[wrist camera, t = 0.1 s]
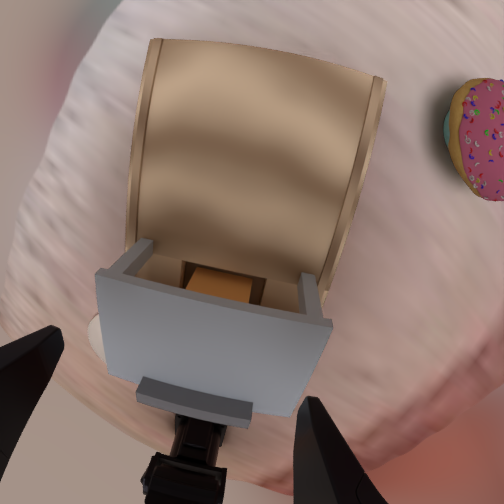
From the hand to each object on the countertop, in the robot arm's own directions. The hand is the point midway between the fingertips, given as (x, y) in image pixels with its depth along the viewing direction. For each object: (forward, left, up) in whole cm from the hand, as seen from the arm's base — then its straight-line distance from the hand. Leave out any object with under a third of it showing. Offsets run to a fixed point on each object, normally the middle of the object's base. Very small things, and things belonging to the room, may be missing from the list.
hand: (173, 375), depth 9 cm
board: (-1, 0, -15) cm, 15 cm away
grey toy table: (-6, 0, -13) cm, 14 cm away
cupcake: (+12, -16, -15) cm, 25 cm away
